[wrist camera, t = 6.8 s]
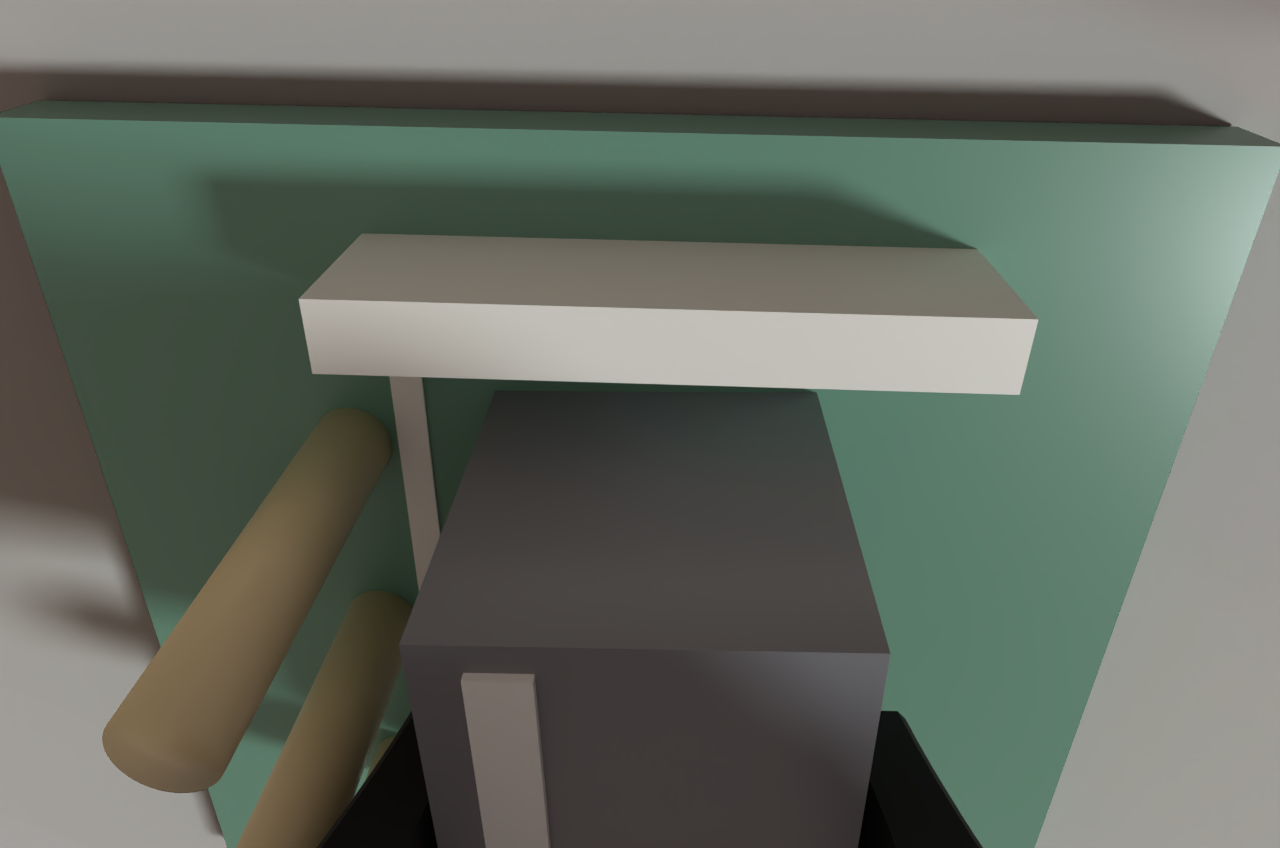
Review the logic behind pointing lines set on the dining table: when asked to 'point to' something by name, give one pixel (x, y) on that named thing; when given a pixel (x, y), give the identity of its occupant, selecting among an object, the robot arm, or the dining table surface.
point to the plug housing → (647, 629)
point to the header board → (617, 384)
